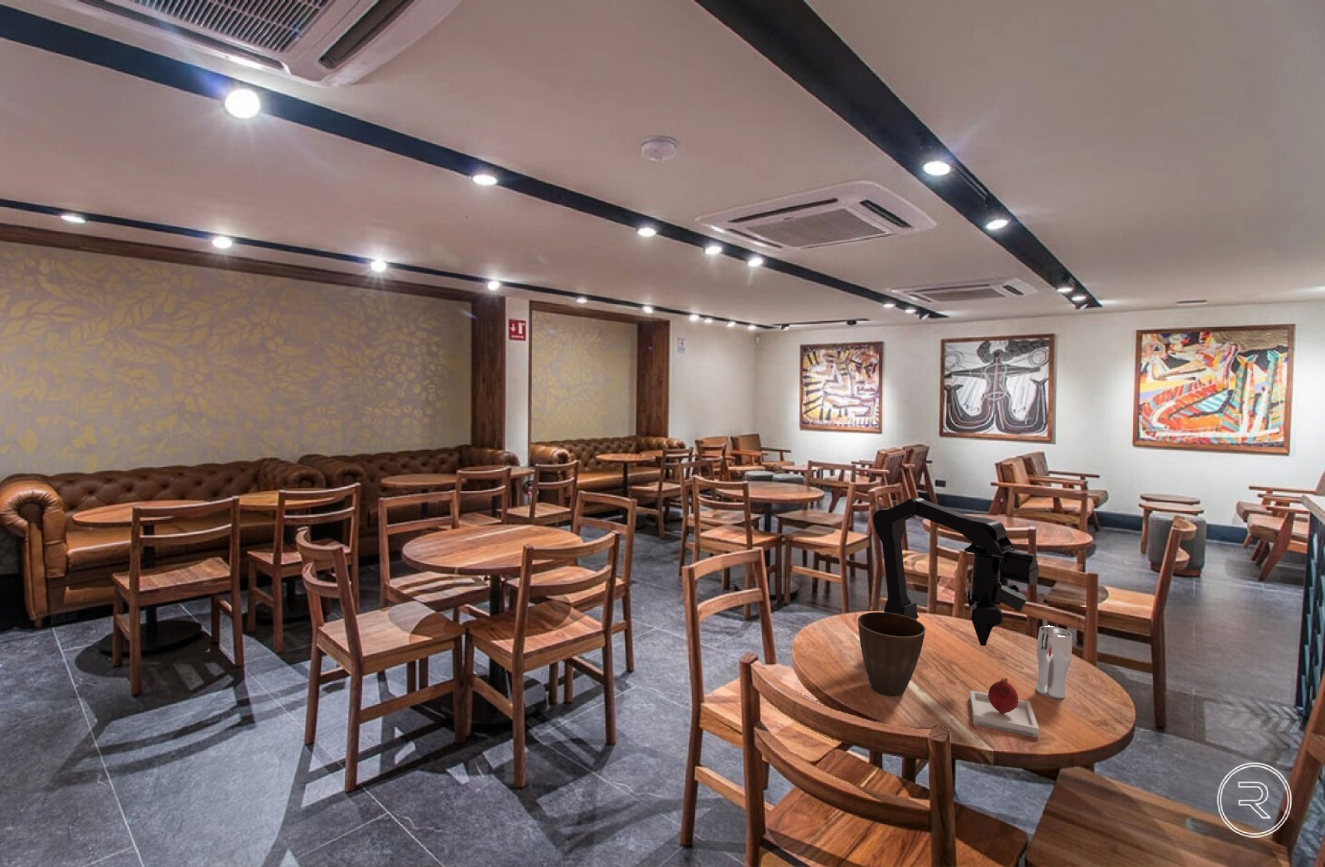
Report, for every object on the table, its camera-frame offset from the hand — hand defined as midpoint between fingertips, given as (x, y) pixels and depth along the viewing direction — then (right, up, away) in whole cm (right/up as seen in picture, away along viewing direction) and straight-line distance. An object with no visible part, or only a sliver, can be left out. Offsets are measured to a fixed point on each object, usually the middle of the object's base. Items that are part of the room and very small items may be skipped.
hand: (981, 638), depth 148 cm
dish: (-1, -14, -11) cm, 18 cm away
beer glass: (+17, -13, 0) cm, 21 cm away
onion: (-1, -13, -12) cm, 17 cm away
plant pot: (-22, -12, 0) cm, 25 cm away
